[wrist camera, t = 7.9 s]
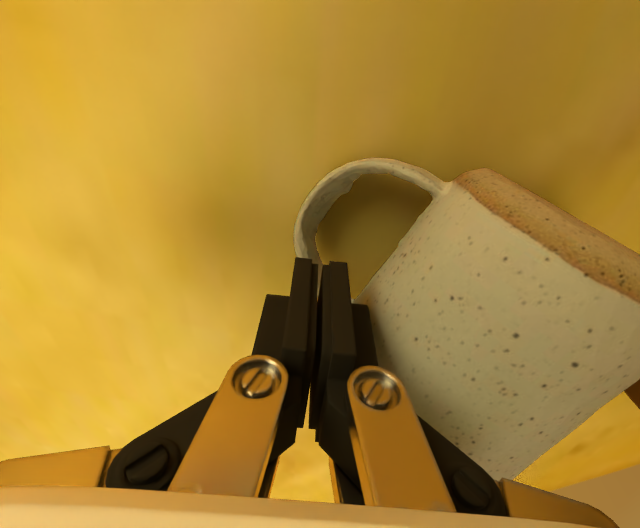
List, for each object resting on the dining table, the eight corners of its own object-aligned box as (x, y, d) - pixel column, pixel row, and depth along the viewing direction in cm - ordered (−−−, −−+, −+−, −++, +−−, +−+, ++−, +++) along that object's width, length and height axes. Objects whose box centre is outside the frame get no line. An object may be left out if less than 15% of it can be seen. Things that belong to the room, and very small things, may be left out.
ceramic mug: (594, 216, 13) (842, 374, 7) (462, 350, 17) (537, 528, 11) (355, 86, 11) (379, 130, 5) (268, 270, 15) (217, 431, 9)
